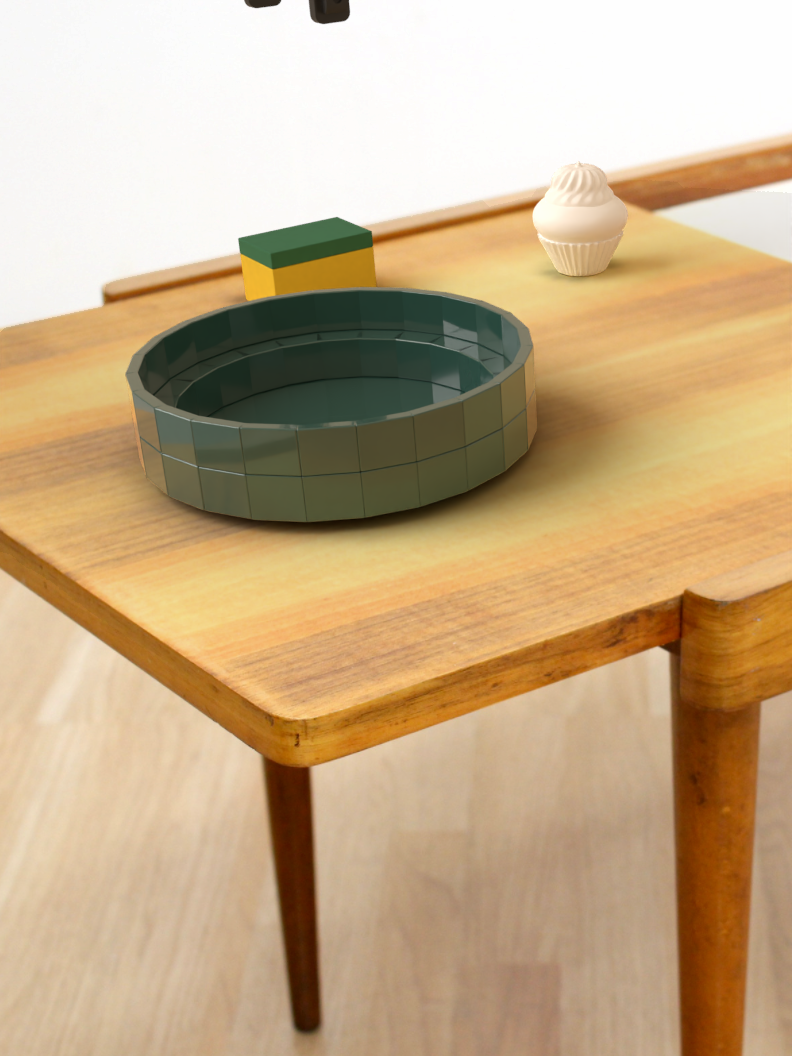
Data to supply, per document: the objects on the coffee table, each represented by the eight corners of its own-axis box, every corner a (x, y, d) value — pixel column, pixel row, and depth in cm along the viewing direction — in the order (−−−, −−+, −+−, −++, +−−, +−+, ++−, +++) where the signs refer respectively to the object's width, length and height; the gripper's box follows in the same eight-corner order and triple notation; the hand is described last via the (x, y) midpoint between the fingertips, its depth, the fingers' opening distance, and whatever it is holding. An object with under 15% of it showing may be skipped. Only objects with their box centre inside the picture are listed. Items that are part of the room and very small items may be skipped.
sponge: (278, 317, 94) (270, 253, 92) (245, 299, 98) (237, 237, 96) (377, 293, 98) (372, 230, 96) (343, 276, 101) (337, 216, 99)
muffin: (517, 277, 99) (511, 168, 96) (560, 251, 104) (557, 146, 101) (604, 288, 97) (601, 176, 94) (644, 260, 102) (643, 153, 98)
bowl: (251, 576, 65) (235, 467, 62) (84, 437, 79) (66, 343, 76) (614, 454, 74) (613, 356, 72) (408, 349, 88) (400, 264, 86)
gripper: (146, -291, 87) (187, 9, 95) (259, -303, 77) (295, 36, 84) (267, -294, 91) (297, -5, 99) (390, -306, 81) (413, 19, 88)
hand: (296, 14), depth 91 cm, fingers open, 8 cm apart
